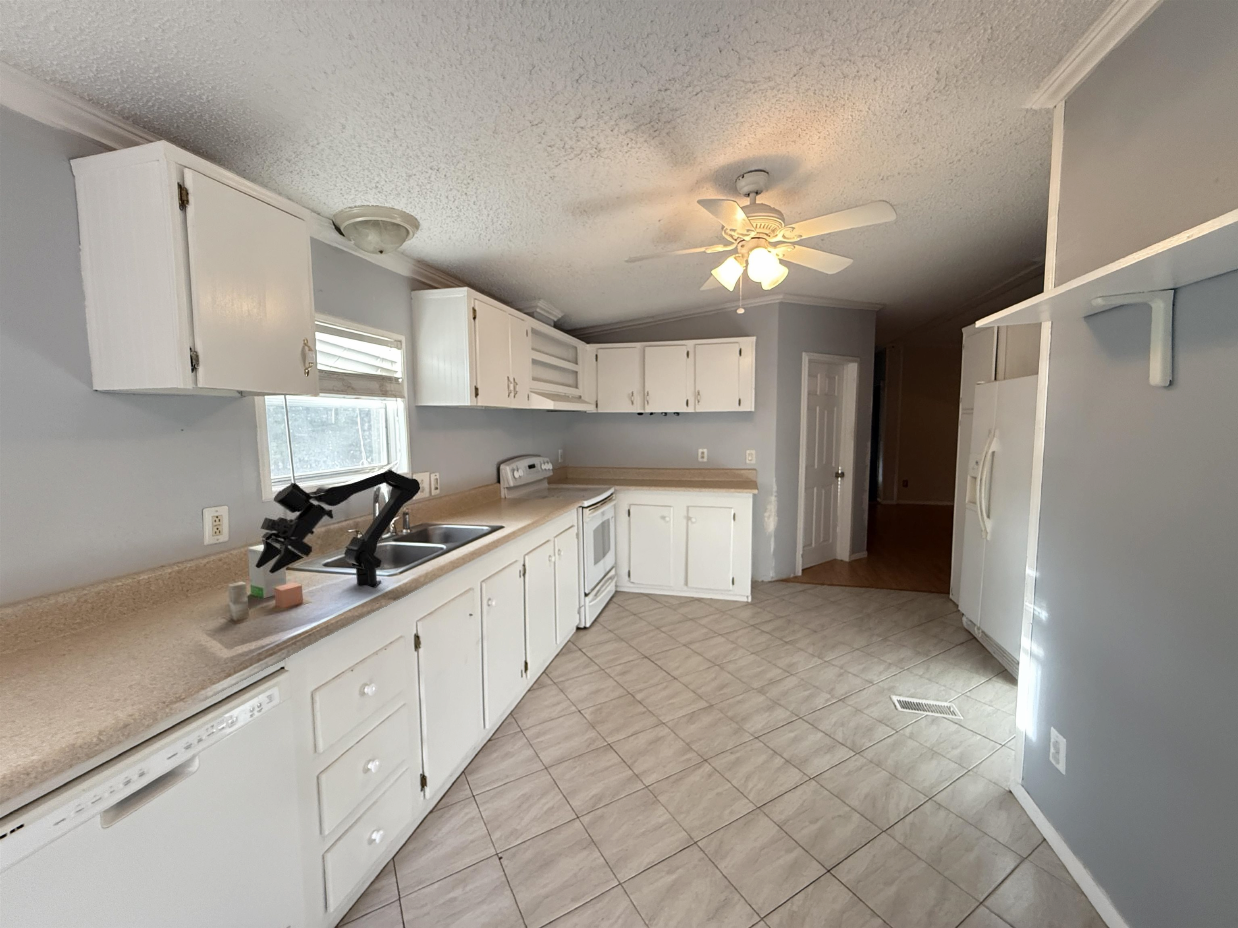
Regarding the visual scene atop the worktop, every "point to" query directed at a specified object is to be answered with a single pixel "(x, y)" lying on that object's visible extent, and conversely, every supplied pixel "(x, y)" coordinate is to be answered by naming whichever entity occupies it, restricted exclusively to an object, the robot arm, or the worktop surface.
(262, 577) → the skincare box
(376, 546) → the robot arm
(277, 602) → the cube
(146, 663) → the worktop surface
